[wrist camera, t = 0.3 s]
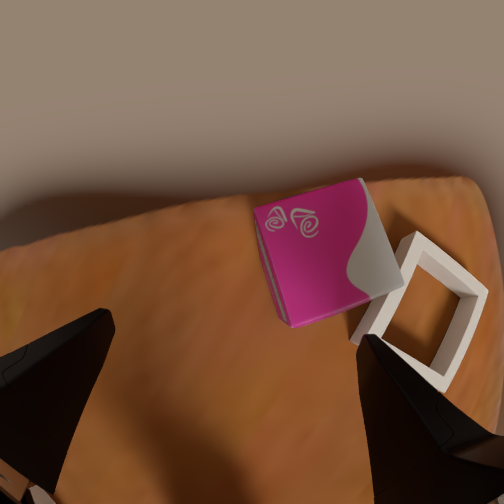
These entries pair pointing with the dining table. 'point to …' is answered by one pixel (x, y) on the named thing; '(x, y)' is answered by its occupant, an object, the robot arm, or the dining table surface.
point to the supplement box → (325, 252)
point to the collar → (463, 322)
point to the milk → (40, 496)
